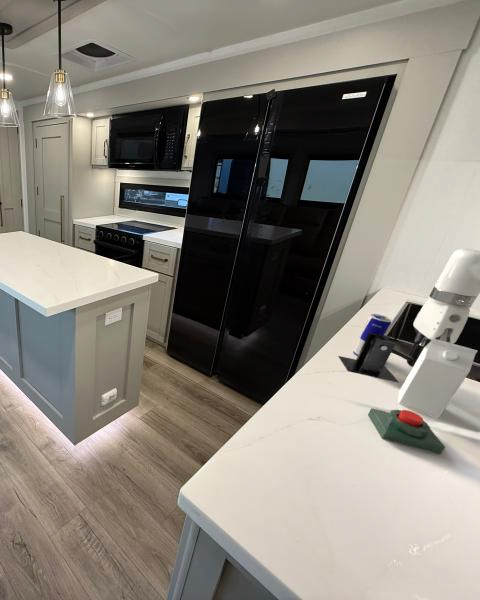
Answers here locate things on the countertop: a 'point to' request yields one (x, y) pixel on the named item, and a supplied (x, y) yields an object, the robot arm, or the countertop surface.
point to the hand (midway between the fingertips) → (417, 356)
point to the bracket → (372, 358)
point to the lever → (400, 354)
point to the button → (410, 418)
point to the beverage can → (373, 329)
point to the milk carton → (436, 377)
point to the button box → (405, 431)
